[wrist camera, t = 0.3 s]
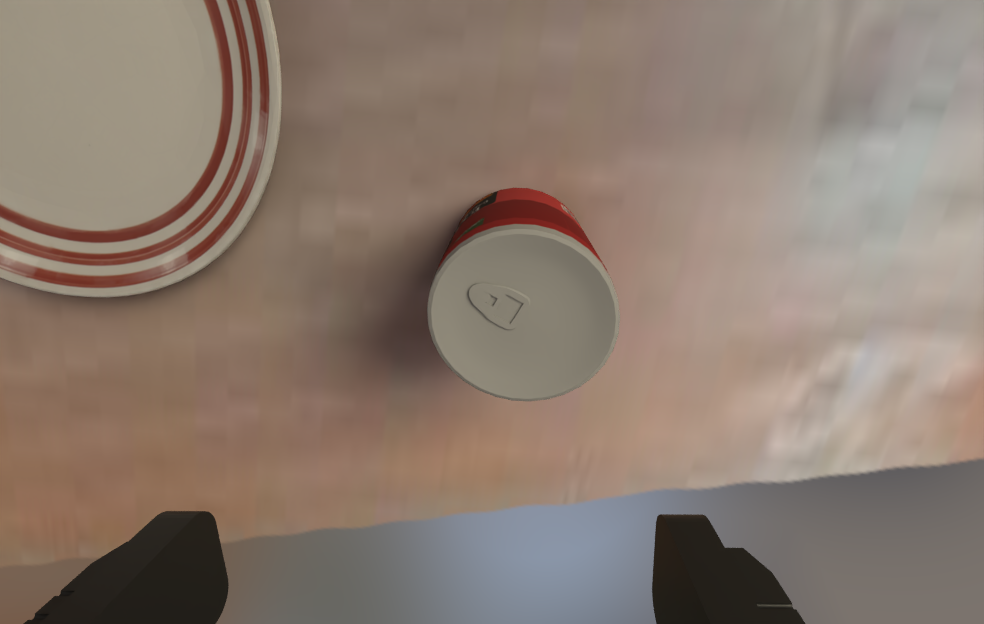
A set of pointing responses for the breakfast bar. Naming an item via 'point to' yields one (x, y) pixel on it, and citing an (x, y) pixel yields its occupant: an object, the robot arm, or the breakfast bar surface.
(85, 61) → the dinner plate
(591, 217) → the breakfast bar surface
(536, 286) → the canned food
